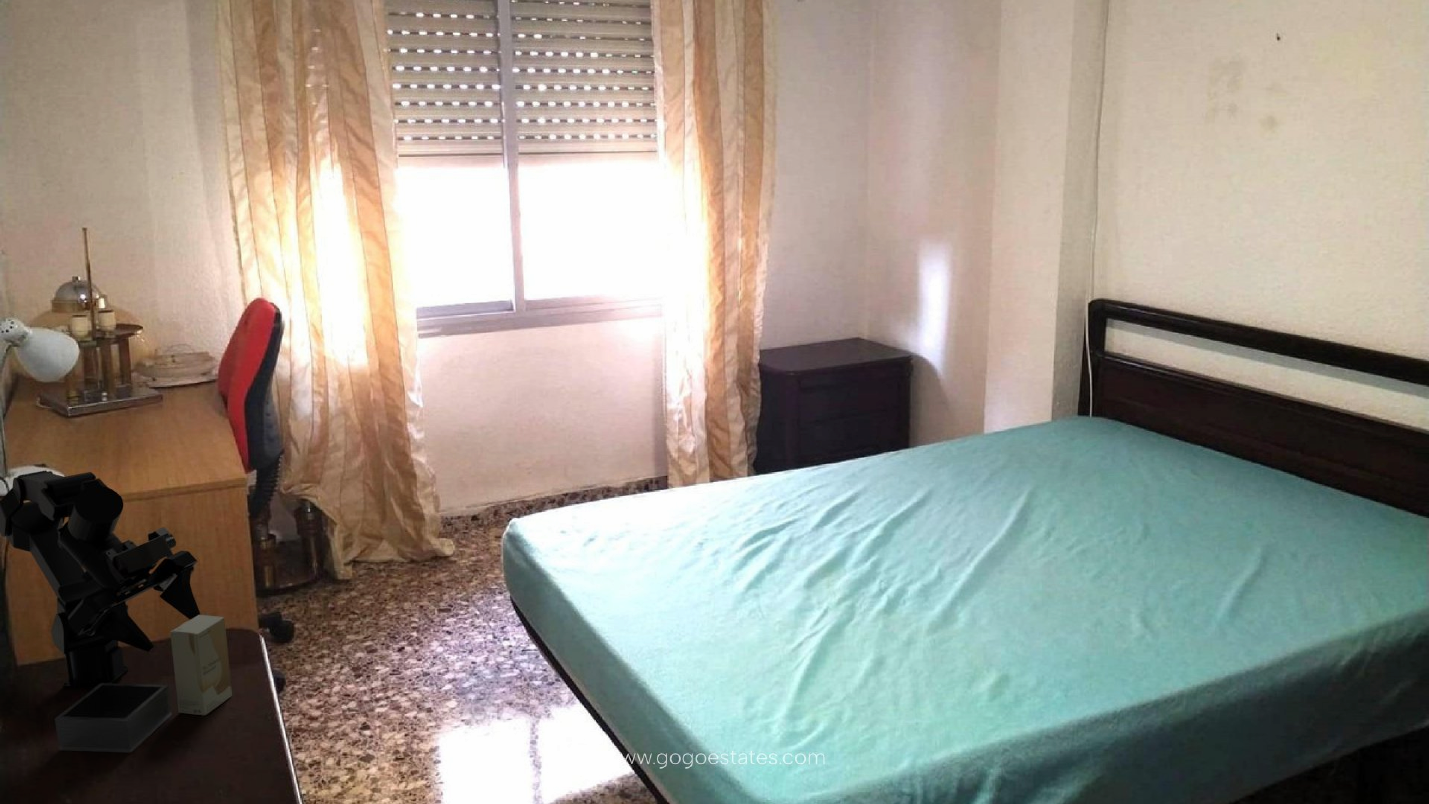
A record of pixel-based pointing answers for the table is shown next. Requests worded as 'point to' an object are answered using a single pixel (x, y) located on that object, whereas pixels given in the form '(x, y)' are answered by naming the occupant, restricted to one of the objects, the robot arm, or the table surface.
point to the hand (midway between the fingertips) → (176, 635)
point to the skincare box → (201, 664)
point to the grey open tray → (113, 717)
